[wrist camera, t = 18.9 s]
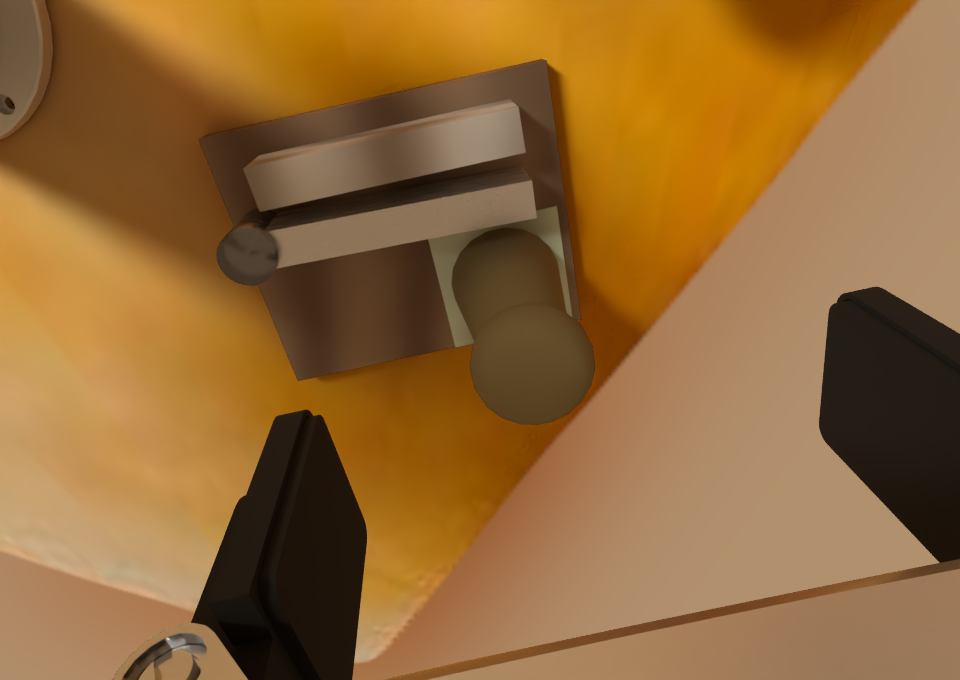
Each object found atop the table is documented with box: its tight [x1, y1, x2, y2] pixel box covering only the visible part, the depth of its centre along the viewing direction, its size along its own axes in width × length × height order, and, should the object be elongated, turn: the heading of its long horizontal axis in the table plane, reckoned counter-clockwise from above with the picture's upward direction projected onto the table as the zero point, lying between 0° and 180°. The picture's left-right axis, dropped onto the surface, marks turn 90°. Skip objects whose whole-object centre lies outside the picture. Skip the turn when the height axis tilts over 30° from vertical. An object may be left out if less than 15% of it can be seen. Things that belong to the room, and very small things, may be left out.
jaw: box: [217, 165, 537, 285], centre depth 29 cm, size 15×3×4 cm, turn 100°
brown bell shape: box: [451, 228, 595, 425], centre depth 29 cm, size 6×6×11 cm
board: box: [198, 59, 581, 381], centre depth 31 cm, size 17×14×4 cm
